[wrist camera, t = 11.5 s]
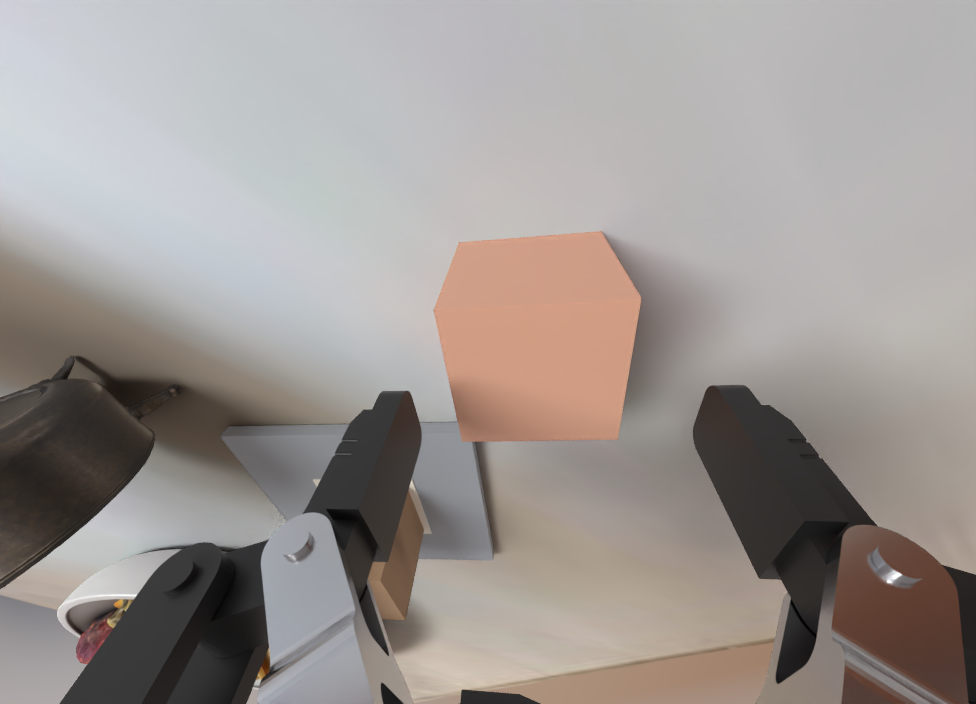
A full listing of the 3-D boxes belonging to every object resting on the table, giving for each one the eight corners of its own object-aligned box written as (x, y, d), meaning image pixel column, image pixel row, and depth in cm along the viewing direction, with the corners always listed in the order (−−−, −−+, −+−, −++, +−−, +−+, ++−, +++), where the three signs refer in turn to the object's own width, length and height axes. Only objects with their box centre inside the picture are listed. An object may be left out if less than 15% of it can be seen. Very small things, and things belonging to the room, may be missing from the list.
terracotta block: (475, 352, 17) (461, 441, 13) (459, 241, 14) (433, 309, 10) (590, 347, 17) (617, 439, 12) (601, 230, 14) (641, 298, 9)
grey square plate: (319, 546, 31) (314, 557, 30) (228, 426, 22) (218, 438, 21) (493, 549, 29) (493, 561, 28) (471, 422, 20) (470, 434, 20)
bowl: (321, 525, 29) (268, 647, 23) (424, 646, 46) (410, 734, 40) (33, 536, 34) (-79, 639, 27) (224, 642, 51) (182, 720, 45)
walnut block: (352, 529, 27) (319, 616, 22) (325, 485, 23) (280, 578, 19) (424, 529, 26) (405, 620, 22) (406, 484, 23) (380, 580, 18)
